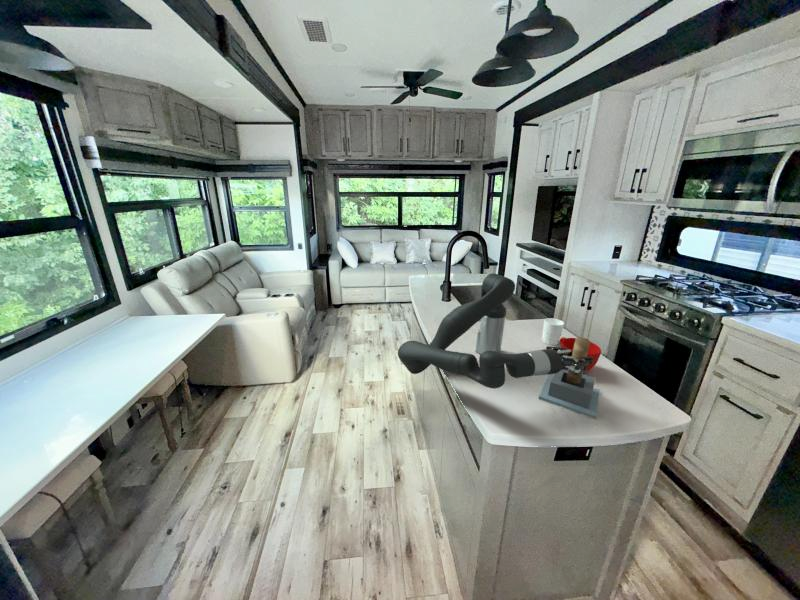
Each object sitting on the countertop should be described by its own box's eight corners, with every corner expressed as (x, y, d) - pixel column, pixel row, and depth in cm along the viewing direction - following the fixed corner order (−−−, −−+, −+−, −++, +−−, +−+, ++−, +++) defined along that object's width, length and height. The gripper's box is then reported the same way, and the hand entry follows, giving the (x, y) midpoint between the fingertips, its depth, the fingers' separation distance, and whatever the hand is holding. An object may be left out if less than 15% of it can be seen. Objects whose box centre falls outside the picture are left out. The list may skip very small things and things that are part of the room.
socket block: (538, 398, 100) (541, 383, 98) (548, 376, 113) (551, 361, 111) (595, 419, 92) (600, 402, 90) (599, 392, 104) (603, 377, 102)
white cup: (540, 344, 136) (544, 323, 133) (540, 336, 143) (544, 317, 140) (560, 347, 134) (564, 326, 130) (558, 339, 141) (563, 319, 137)
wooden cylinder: (565, 382, 99) (574, 340, 94) (567, 376, 103) (576, 336, 97) (579, 386, 97) (589, 344, 92) (580, 380, 100) (591, 339, 95)
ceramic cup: (571, 354, 128) (576, 332, 125) (603, 377, 113) (610, 353, 109) (543, 356, 126) (547, 334, 123) (571, 380, 111) (577, 355, 107)
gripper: (523, 361, 101) (567, 355, 105) (554, 386, 88) (602, 379, 92) (527, 340, 99) (572, 336, 103) (559, 364, 86) (609, 357, 90)
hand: (586, 356), depth 98 cm, fingers closed on wooden cylinder, 4 cm apart
